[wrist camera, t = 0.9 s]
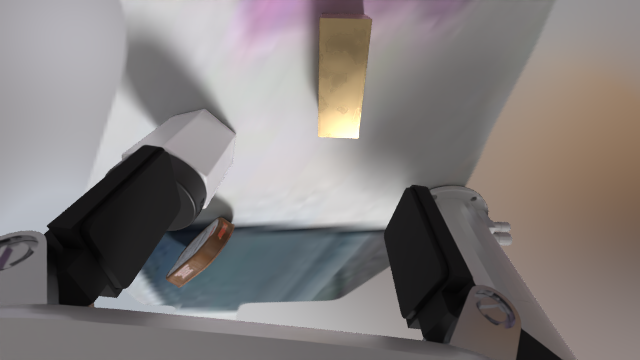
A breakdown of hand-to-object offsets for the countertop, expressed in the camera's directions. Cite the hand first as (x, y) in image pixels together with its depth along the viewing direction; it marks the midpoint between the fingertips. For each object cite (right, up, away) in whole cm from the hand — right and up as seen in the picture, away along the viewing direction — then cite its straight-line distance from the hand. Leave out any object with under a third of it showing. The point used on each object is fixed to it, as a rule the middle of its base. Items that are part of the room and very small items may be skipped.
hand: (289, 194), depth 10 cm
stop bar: (+3, +12, +16) cm, 21 cm away
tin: (-18, -8, +33) cm, 39 cm away
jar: (-14, +6, +22) cm, 27 cm away
